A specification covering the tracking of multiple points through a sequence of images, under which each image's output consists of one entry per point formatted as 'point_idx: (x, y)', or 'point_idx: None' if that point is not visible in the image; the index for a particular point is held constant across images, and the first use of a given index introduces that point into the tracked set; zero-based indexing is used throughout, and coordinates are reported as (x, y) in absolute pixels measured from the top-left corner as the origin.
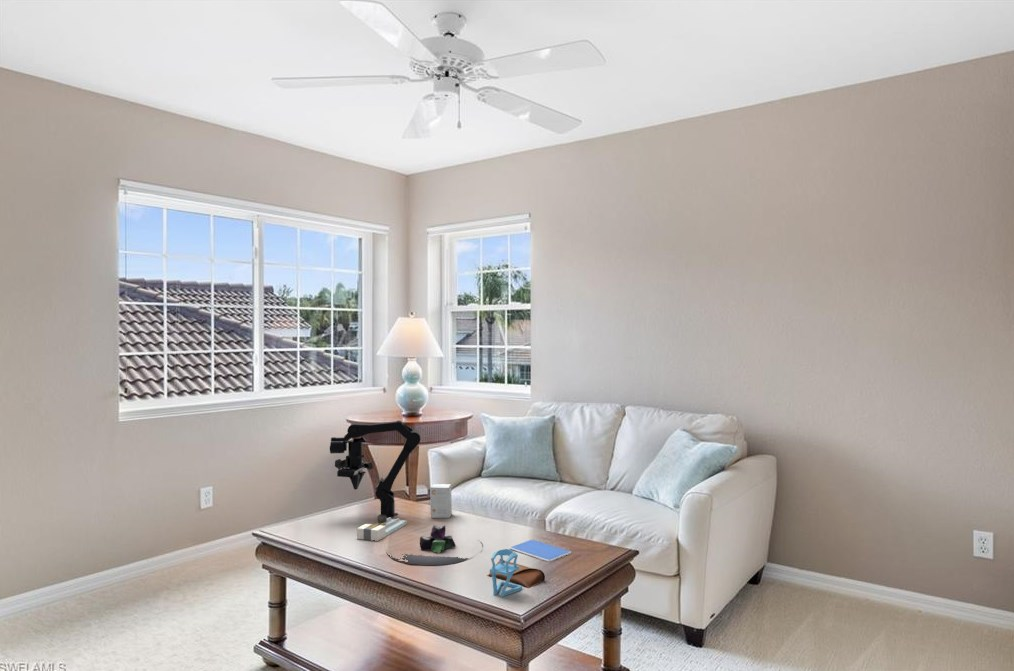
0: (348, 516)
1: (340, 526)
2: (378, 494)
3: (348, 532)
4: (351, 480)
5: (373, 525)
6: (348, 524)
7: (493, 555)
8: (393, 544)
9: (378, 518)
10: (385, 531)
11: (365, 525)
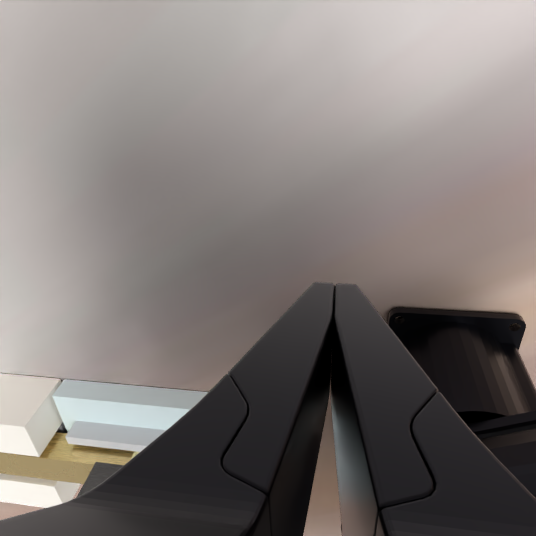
0: (357, 28)
1: (72, 158)
2: (341, 524)
3: (18, 284)
4: (191, 427)
5: (39, 462)
6: (143, 190)
7: None
8: None
9: (85, 488)
10: (77, 483)
11: (2, 436)
